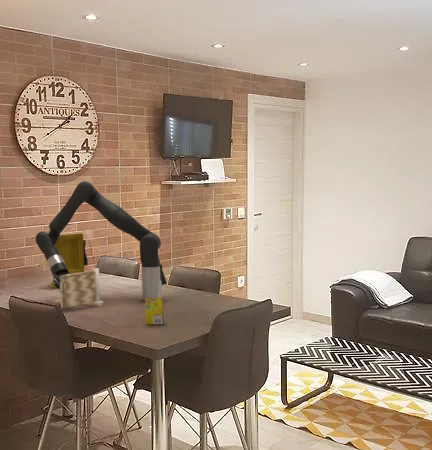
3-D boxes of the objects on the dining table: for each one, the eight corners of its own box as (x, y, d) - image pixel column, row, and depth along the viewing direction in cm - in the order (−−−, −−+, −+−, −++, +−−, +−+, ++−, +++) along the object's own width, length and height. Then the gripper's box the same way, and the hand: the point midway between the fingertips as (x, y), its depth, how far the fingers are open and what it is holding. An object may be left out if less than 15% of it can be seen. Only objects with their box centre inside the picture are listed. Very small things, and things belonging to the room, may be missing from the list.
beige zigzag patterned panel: (93, 301, 290) (93, 270, 288) (95, 301, 289) (94, 270, 287) (60, 307, 277) (59, 275, 275) (62, 308, 276) (61, 275, 274)
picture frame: (103, 303, 293) (102, 267, 291) (99, 306, 288) (98, 269, 286) (58, 301, 299) (56, 266, 297) (53, 303, 294) (51, 267, 292)
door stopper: (153, 286, 335) (152, 265, 334) (148, 284, 340) (147, 263, 339) (167, 284, 340) (166, 263, 339) (162, 282, 345) (161, 262, 344)
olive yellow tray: (88, 280, 354) (86, 230, 351) (97, 283, 343) (96, 232, 340) (36, 286, 336) (34, 234, 333) (44, 290, 325) (42, 236, 322)
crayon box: (163, 322, 257) (162, 296, 256) (162, 324, 254) (162, 297, 253) (146, 322, 257) (145, 296, 256) (145, 324, 254) (144, 297, 253)
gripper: (47, 263, 282) (61, 292, 274) (72, 260, 291) (86, 288, 283) (42, 272, 286) (55, 302, 278) (66, 269, 295) (80, 297, 288)
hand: (71, 295), depth 281 cm, fingers closed
